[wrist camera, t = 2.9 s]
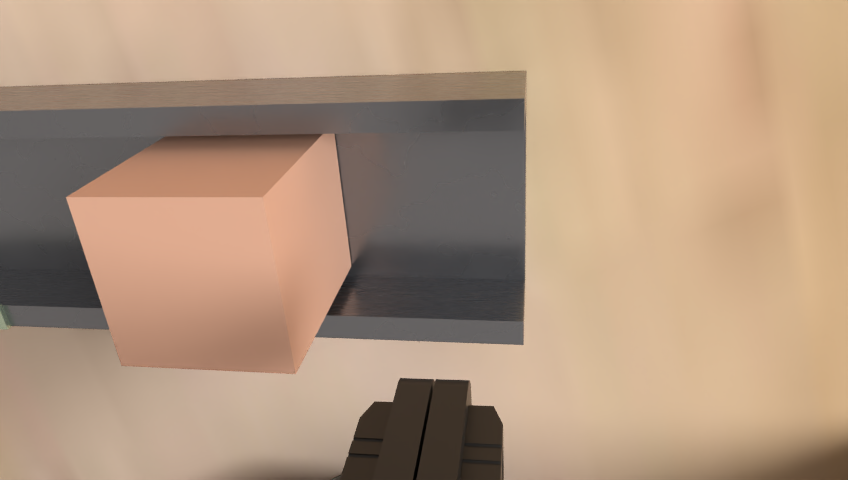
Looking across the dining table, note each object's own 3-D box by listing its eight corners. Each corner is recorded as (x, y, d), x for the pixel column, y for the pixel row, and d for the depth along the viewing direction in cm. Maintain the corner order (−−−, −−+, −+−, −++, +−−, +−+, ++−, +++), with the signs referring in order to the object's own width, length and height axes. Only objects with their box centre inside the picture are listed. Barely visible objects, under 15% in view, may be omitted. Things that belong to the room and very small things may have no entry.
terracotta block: (333, 123, 24) (262, 197, 18) (351, 266, 27) (295, 373, 20) (182, 126, 25) (65, 197, 19) (214, 263, 28) (121, 365, 21)
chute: (526, 69, 23) (524, 98, 19) (524, 291, 27) (523, 349, 23) (-105, 88, 27) (-200, 115, 24) (-25, 278, 31) (-97, 325, 28)
